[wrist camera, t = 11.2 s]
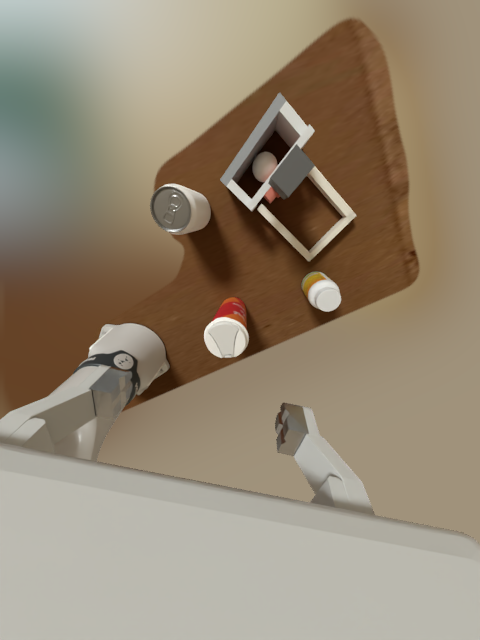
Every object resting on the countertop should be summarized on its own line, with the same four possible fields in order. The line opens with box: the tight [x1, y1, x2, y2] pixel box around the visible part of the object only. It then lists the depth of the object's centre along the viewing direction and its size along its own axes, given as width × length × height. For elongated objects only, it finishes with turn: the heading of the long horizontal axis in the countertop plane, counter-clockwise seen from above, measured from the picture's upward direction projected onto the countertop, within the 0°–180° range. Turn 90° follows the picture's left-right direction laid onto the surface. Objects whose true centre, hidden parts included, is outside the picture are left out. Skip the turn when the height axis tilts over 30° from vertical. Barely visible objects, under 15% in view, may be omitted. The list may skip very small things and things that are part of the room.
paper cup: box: [204, 297, 249, 358], centre depth 41 cm, size 8×8×14 cm
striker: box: [263, 144, 315, 203], centre depth 30 cm, size 6×3×14 cm, turn 139°
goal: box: [220, 93, 315, 212], centre depth 32 cm, size 12×6×8 cm, turn 139°
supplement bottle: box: [302, 272, 341, 312], centre depth 39 cm, size 5×5×10 cm
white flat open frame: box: [257, 166, 357, 262], centre depth 37 cm, size 10×13×2 cm
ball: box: [252, 152, 277, 182], centre depth 34 cm, size 4×4×4 cm
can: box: [150, 184, 211, 235], centre depth 34 cm, size 6×6×12 cm
